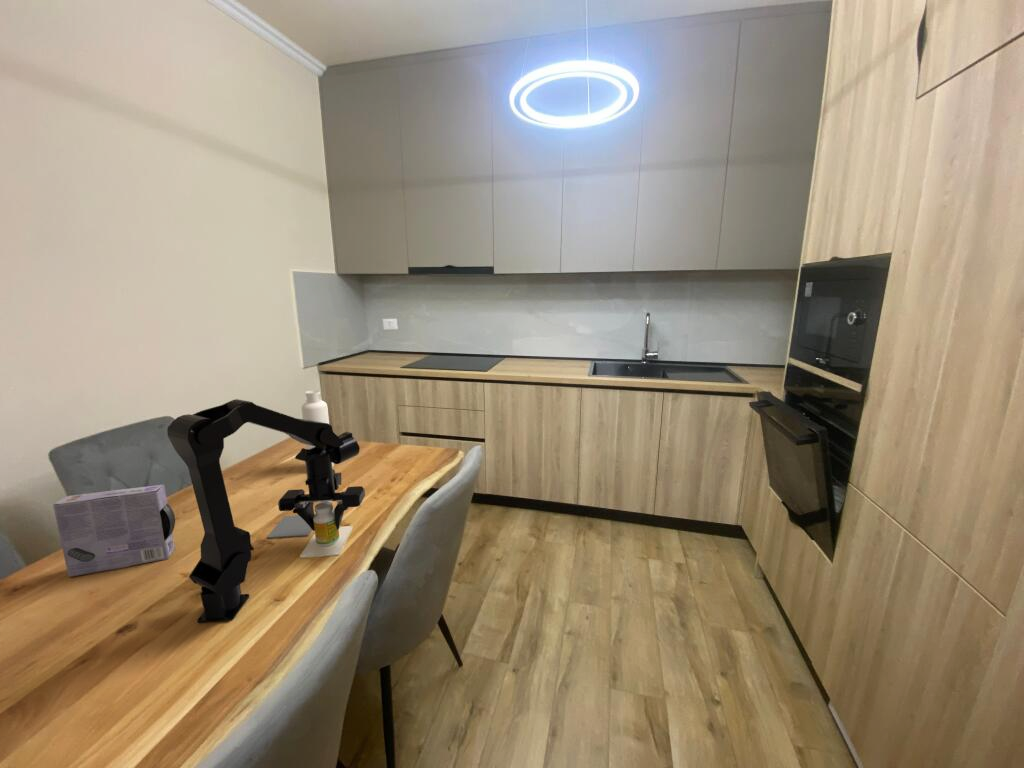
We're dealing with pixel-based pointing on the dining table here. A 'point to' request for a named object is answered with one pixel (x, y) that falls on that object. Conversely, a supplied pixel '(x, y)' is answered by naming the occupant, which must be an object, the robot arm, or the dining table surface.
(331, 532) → the supplement bottle
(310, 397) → the bottle
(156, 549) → the cake pan box
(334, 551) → the tile
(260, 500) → the dining table surface
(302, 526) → the slate mat
